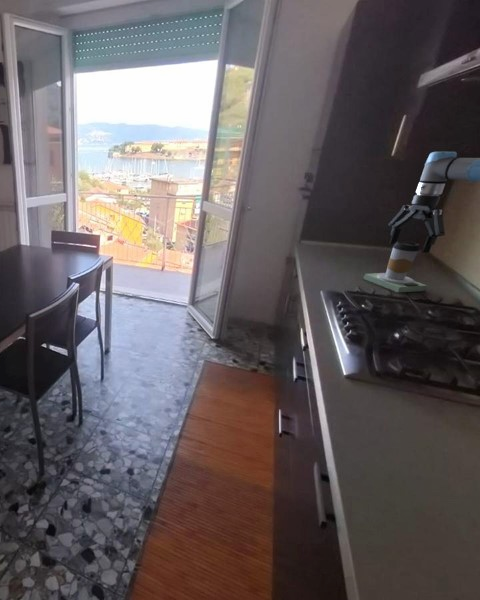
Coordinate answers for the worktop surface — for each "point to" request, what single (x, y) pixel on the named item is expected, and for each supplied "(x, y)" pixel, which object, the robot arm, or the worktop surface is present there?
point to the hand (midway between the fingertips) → (407, 248)
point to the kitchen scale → (395, 283)
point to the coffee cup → (401, 259)
